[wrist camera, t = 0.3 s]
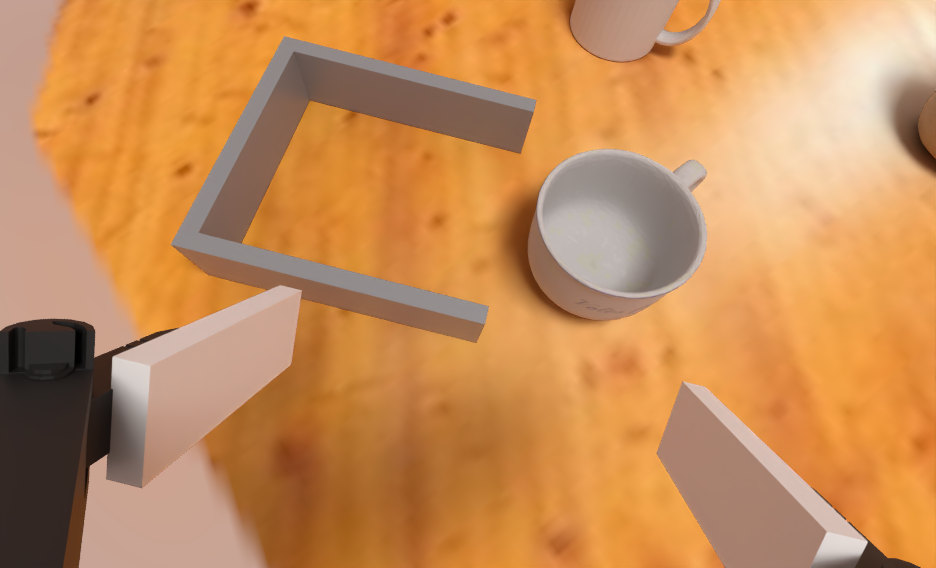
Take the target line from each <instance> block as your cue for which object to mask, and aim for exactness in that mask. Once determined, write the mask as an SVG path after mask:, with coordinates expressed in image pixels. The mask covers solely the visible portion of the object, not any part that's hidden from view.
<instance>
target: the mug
mask: <svg viewBox="0 0 936 568" xmlns="http://www.w3.org/2000/svg"><path fill="white" fill-rule="evenodd" d="M678 2H679V0H576V2H575V5H574V8H573V11H572V14H571V18H570V26H571V30H572V33H573V35H574V37H575V39H576V40H577V42H578V43H579V44H580V45H581V46H582V47H583V48H585V49H586V50H587V51H588V52H590V53H592V54H593V55H595V56H598V57H600V58H603V59H606V60H610V61H616V62H628V61H634V60H637V59H639V58H641V57H643V56H645V55H646V54H647V53H649V52H650V50H651V49H652V48H653V46H654V44H655V43H658V44H660V45H664V46H676V45H680V44H683V43H685V42H688V41H689V40H691V39H693V38H694V37H695V36H697V35H698V34H699V33H700V32H701V31H702V30H703V29H704V28H705V26H706V25H707V24H708V22H709V21H710V19H711V18H712V16H713V15H714V13H715V11H716V9H717V7H718V5H719V3H720V0H710V3H709V7H708V10H707V12H706V14H705V16H704V17H703V18H702V19H701V20H700V21H699V22H698V23H697V24H696V25H695V26H693V27H692V28H690V29H688V30H685V31H682V32H668V31H666V30H664V29H663V28H664V27H665V25H666V23H667V21H668V19H669V18H670V16H671V14H672V12H673V11H674V9H675V7H676V5H677V3H678Z"/></svg>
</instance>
